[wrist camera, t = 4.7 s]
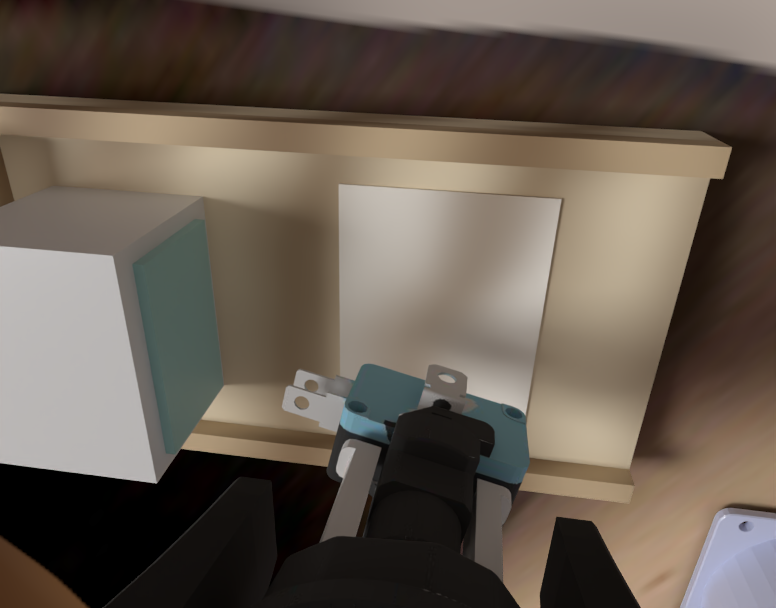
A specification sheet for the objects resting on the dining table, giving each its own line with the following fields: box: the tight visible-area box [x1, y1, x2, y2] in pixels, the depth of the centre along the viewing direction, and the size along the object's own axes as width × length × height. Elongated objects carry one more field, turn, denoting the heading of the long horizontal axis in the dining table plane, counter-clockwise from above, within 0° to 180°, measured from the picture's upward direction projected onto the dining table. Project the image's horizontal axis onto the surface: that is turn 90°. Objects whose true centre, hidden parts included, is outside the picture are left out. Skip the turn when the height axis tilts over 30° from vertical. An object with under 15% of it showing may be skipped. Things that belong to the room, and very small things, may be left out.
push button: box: [249, 363, 530, 608], centre depth 12 cm, size 7×5×10 cm
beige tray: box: [0, 94, 732, 503], centre depth 19 cm, size 22×12×4 cm, turn 88°
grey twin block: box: [0, 186, 224, 483], centre depth 18 cm, size 5×7×5 cm
